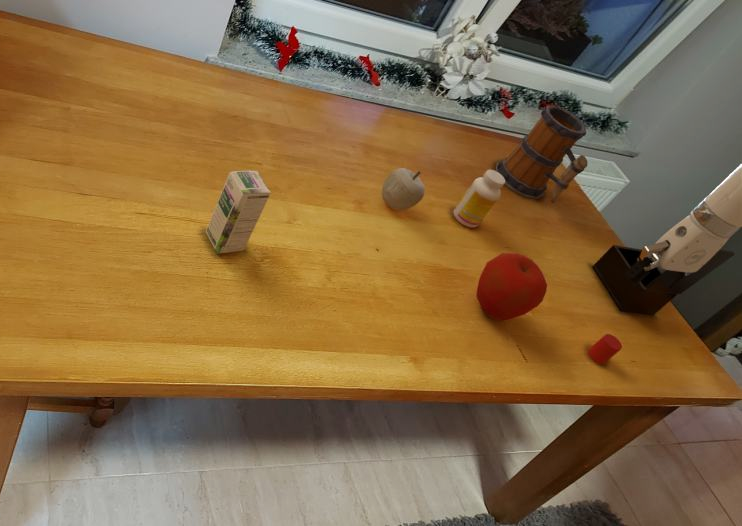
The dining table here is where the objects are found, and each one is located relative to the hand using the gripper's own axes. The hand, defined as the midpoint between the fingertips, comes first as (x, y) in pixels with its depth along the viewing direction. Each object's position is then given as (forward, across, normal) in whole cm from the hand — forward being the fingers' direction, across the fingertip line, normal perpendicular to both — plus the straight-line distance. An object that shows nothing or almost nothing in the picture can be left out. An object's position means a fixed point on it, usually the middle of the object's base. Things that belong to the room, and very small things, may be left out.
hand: (647, 281), depth 132 cm
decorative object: (+18, -36, +34) cm, 52 cm away
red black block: (+17, -2, -6) cm, 18 cm away
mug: (+17, +10, +48) cm, 52 cm away
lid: (+1, +19, +6) cm, 20 cm away
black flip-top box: (+17, +20, +13) cm, 29 cm away
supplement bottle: (+18, -17, +32) cm, 40 cm away
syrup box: (+18, -78, +17) cm, 82 cm away
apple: (+17, -24, +5) cm, 30 cm away
